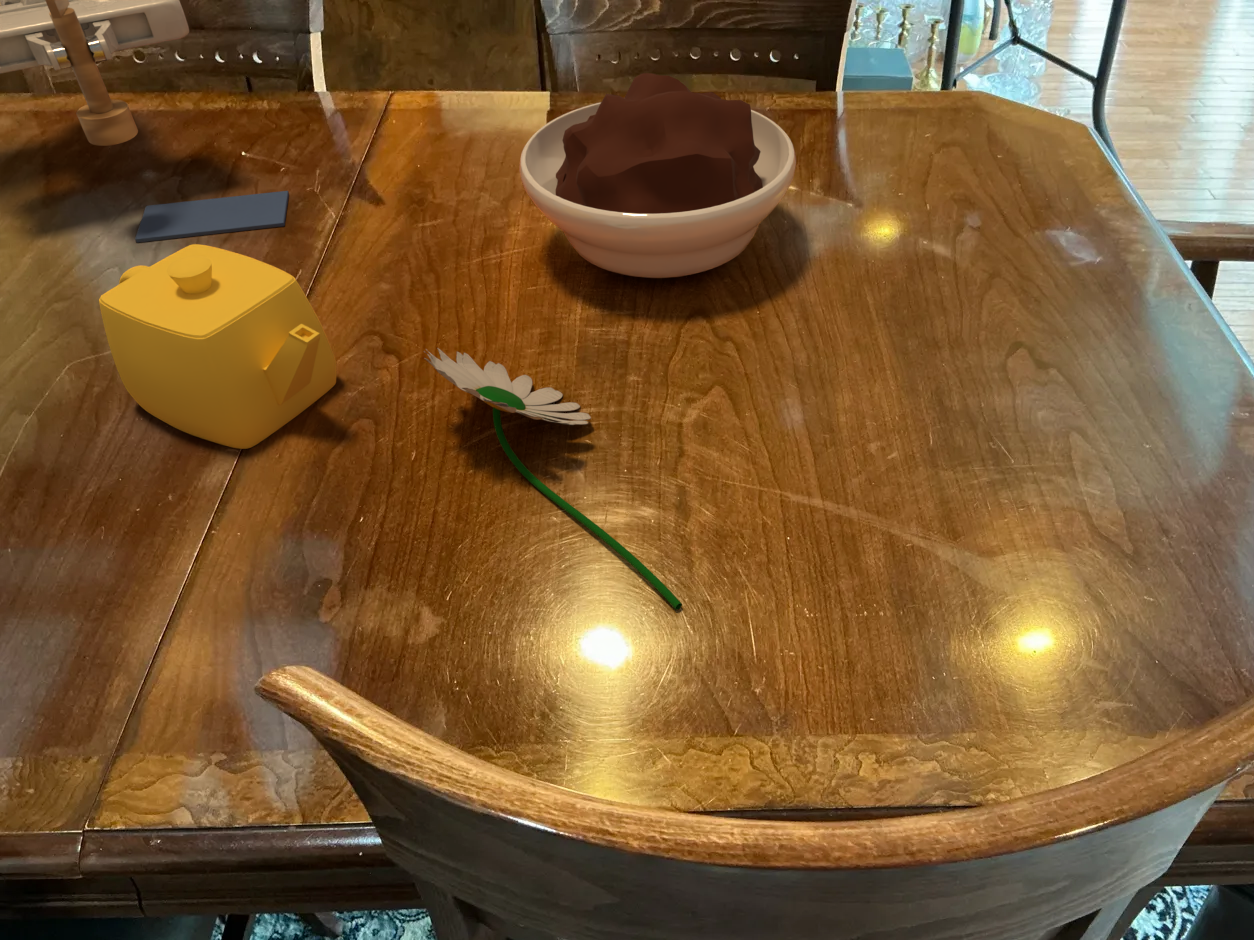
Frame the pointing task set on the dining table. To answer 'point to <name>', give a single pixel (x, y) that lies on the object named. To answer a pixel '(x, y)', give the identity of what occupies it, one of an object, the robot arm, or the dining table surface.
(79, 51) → the wooden peg
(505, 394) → the flower
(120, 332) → the teapot
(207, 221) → the blue-grey rectangular slab
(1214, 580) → the dining table surface
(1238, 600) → the dining table surface
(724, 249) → the bowl of brown chunks
